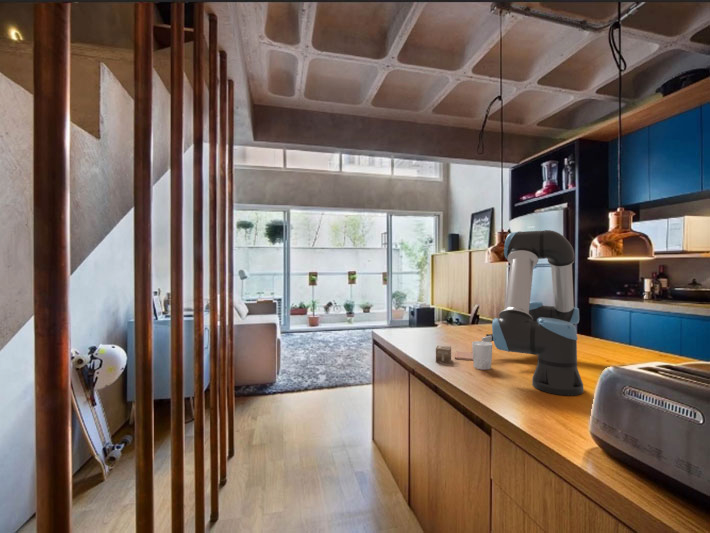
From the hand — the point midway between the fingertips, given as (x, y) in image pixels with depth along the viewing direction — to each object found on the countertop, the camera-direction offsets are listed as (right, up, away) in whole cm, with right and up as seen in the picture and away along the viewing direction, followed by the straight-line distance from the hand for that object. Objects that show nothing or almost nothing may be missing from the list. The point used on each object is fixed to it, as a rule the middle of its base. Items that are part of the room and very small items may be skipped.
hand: (496, 343), depth 149 cm
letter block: (-21, -9, +4) cm, 24 cm away
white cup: (-8, -9, -6) cm, 13 cm away
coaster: (-9, -8, +10) cm, 16 cm away
